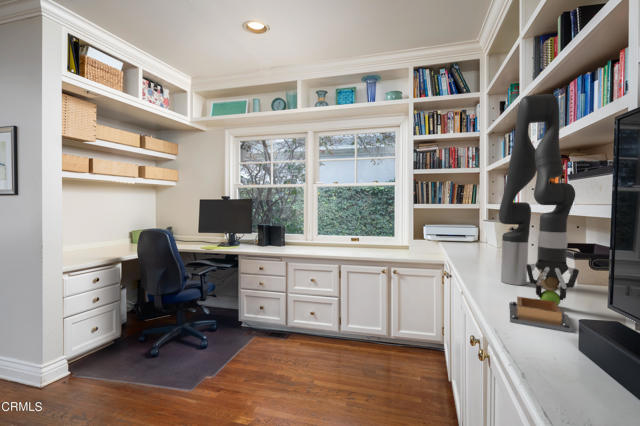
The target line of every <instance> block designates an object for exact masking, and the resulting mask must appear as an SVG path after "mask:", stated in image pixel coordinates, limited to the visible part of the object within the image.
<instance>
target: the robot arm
mask: <svg viewBox="0 0 640 426" xmlns="http://www.w3.org/2000/svg"><path fill="white" fill-rule="evenodd" d="M518 103H519V104H518V107H517V110H516V111H517V112H516V113H517V114H516V121H515V131H514V138H513V145H512V148H511V149H512V150H511V154H510V157H509V162H508V163H509V164H508V168H507V175H506V176H507V177H506V182H505V187H504V191H503V194H502V199H501V202H500V206H499V210H498V221H499V222H500V223H501V224H503V225H516V226H517V227H516V228H515V229H513V230H510V231H508V232H504V233H503V234H502V237H501V240H502V241H501V243H502V244H501V264H500V265H501V267H500V281H501V282H502V283H504V284H508V285H514V286H516V285H517V286H526V285H527V283H528V281H527V280H529V282H530V284H534V285H535V294H536V296H537V297H538V298H539V299H540V298H541V293H542V292H543V290H542V288H543V287H542V285H541V281H540V279H543V280H544V279H545V278H546V277H553V278H558V280H559V282H560V283H559V286H560V287H559V296H560V300H561V301H564V299H566V298H567V289H571V288H574V287H575V284H576V281H577V278H578V275H579V273H580V271H579V269H577V268H576V267H570V266H568V265H567V257H568V256H567V255H568V235H567V233H568V231H567V230H568V229H567V227H568V225H567V224H568V218H569V215H570V212H571V209H572V206H573V204H574V201H575V199H576V189H575V188H574V186H573V185H572V184H570V183H569V182H568V183H567V182H550V180H552V179H556V178H558V177H560V176H562V175H563V173H564V165H563V159H562V154H561V150H560V149H561V148H560V104H559V103H560V102H559V99H558V98H557V96H556V95H555V94H553V93H546V94H544V93H542V94H534V95H533V94H531V95H525V96H523V97H522V98H521V99H520V100H519V102H518ZM534 123H536V124H537V123H538V124H539V123H544V125H545V132H544V134H543V136H542V137H541V140H540V141H539V143H538V144H537V147H535V146H534V144H533V142H532V140H531V138H530V135H529V134H530V133H529V130H530V129H529V128H530V124H534ZM535 177H536V178H535ZM534 178H535V185H534V186H535V187H534V190H533V197H534V200H535V202H536V203H538V204H539V205H540V206H555V207H554V209H553V210H552V211H549V212H544V213H542V214H540V217H539V230H538V231H539V232H538V238H537V260H536V262H535V263H532V264H530V263H528V261H529V260H528V259H529V237H530V229H531V220H532V219H531V218H532V207H531V205H530V203H528V202H525V201H524V202H522V201H521V202H518V201H515V199H516V197H517V196H518V194H519V193H520V192H521V191H522V190H523V189H524V188H525V187H526V186H527V185H528V184H529V183H531V182H532V180H533V179H534ZM536 268H537V271H539V270H542V272H540V271H539V274H540V273H542V274H541V275H543V277H541V276H540V277H539V275H538V277H537V278H536V279H535V277H534V273H533V272H534V271H535V269H536ZM567 271H568V273H569V275H570V276H569V279H568V281H567V282H565V279H564V278H563V275H564V274H565V273H566V272H567Z"/></svg>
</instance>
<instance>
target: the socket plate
mask: <svg viewBox="0 0 640 426" xmlns="http://www.w3.org/2000/svg"><path fill="white" fill-rule="evenodd" d="M516 297H517V298H516V301H509V304H508V308H509V309H508V310H510V311H509V323H513V324H519V323H520V325H525V324H526V325H525V326H533V327H537V328H542V329H543V328H544V329H549V330H550V329H551V330H556V331H560V332H565V333H566V332H567V333H573V327H572V325H571V323H570V322H569V320H568V318H567V315H566V314H565V312H564V310H563V309H562V308H560V306H559V305H558V304H557V302H554V301H547V300H540V298H530V297H526V296H525V297H524V296H516Z"/></svg>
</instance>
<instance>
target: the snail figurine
mask: <svg viewBox="0 0 640 426" xmlns="http://www.w3.org/2000/svg"><path fill="white" fill-rule="evenodd" d="M538 272H539V274H538V276H539V277H540V276H541V277H543V275H541V274H542V273H540V272H542V270H538ZM540 281H541V286H542V288H543V289H544V290H542V291H541V298H540V297H539V299H540V300H547V301H554V302H557V304H558V306H559V305H560V304H561V301H562V300H560V294H559V293H558V292H556V291H558V290H559V289H560V287H559V286H560V282H559V280H558V278H553V277H545V279H544V280H543V279H540Z"/></svg>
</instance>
